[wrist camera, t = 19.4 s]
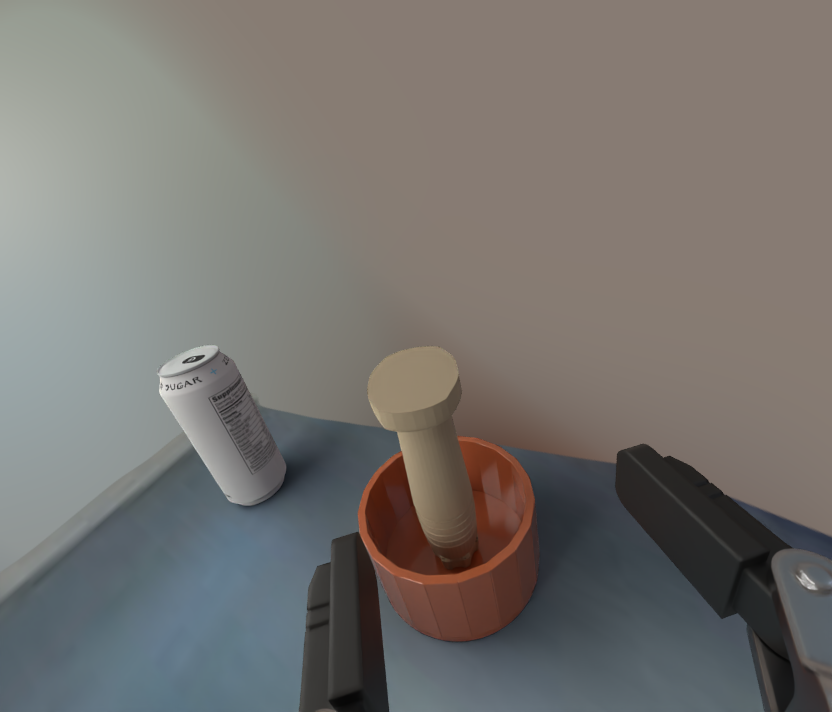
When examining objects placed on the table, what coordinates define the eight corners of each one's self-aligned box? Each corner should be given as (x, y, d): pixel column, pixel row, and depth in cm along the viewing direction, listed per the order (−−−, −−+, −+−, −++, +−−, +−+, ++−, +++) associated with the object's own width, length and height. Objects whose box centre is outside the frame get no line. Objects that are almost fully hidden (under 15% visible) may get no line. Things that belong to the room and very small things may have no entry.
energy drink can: (250, 465, 41) (182, 346, 34) (299, 462, 39) (239, 338, 33) (217, 511, 36) (130, 382, 29) (273, 509, 34) (195, 374, 27)
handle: (482, 508, 29) (451, 340, 22) (499, 592, 23) (464, 402, 16) (422, 517, 29) (374, 355, 23) (424, 601, 24) (360, 420, 17)
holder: (469, 468, 34) (459, 416, 31) (576, 563, 24) (575, 501, 22) (357, 541, 29) (334, 489, 27) (436, 690, 20) (413, 633, 17)
